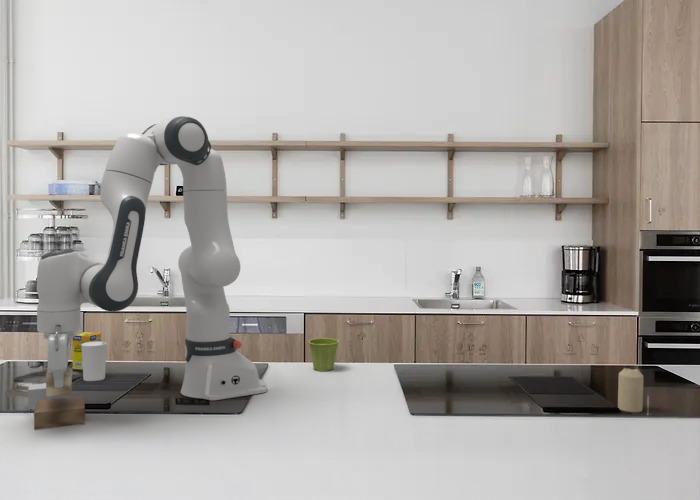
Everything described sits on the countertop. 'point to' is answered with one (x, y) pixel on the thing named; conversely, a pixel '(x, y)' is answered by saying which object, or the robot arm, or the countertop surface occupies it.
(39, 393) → the grey block
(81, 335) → the supplement box
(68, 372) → the ash block
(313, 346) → the plant pot
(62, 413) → the walnut block
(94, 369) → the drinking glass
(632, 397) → the beige jar
